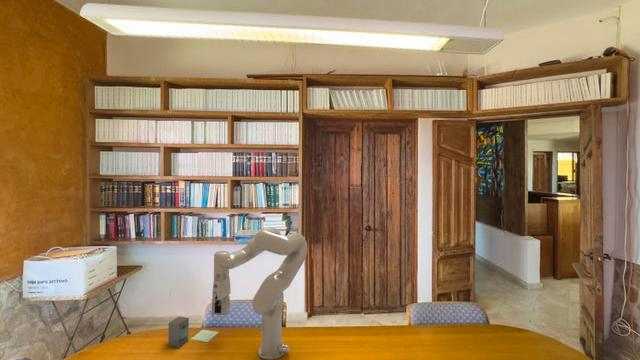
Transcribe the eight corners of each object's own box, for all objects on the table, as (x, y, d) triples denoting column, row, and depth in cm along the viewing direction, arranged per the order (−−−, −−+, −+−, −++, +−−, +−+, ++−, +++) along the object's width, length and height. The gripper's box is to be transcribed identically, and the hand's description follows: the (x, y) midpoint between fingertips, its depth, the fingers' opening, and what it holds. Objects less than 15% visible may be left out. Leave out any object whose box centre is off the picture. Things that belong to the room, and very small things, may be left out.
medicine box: (229, 312, 151) (230, 295, 152) (226, 315, 147) (226, 298, 147) (215, 311, 152) (215, 294, 152) (211, 315, 148) (211, 298, 148)
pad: (218, 332, 157) (218, 332, 157) (207, 342, 147) (207, 341, 147) (202, 330, 159) (202, 329, 159) (190, 339, 149) (190, 339, 149)
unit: (188, 341, 148) (189, 318, 148) (179, 349, 141) (179, 324, 141) (178, 339, 149) (178, 316, 150) (167, 347, 143) (168, 322, 143)
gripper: (218, 281, 141) (217, 319, 140) (236, 271, 157) (236, 304, 157) (204, 280, 142) (204, 317, 142) (224, 270, 159) (223, 303, 159)
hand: (220, 310), depth 150 cm, fingers closed on medicine box, 4 cm apart
